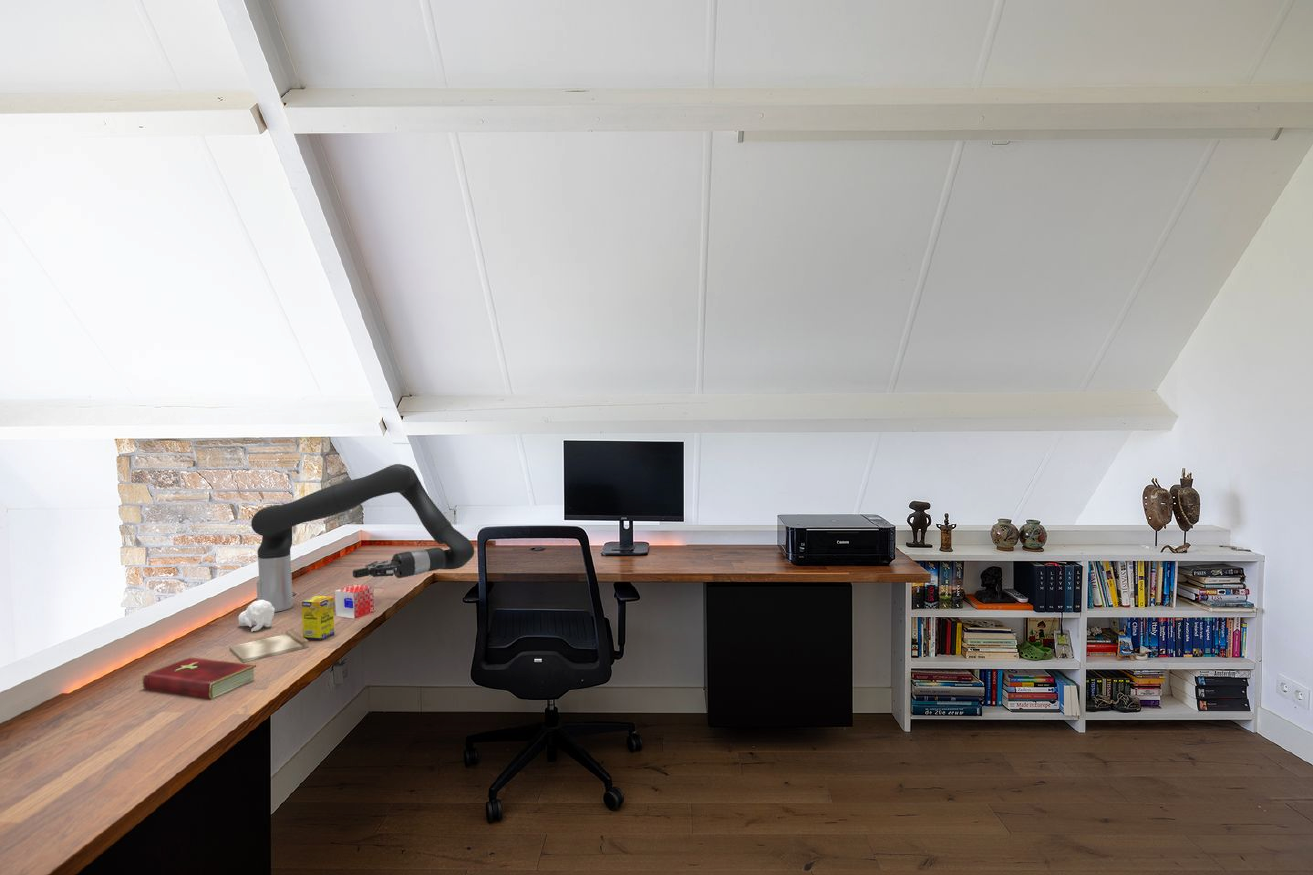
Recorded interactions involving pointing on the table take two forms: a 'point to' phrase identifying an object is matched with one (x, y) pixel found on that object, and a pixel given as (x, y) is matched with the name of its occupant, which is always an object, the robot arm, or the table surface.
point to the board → (270, 646)
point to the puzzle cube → (354, 601)
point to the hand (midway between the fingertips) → (353, 574)
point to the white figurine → (257, 615)
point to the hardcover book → (199, 677)
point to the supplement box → (318, 618)
